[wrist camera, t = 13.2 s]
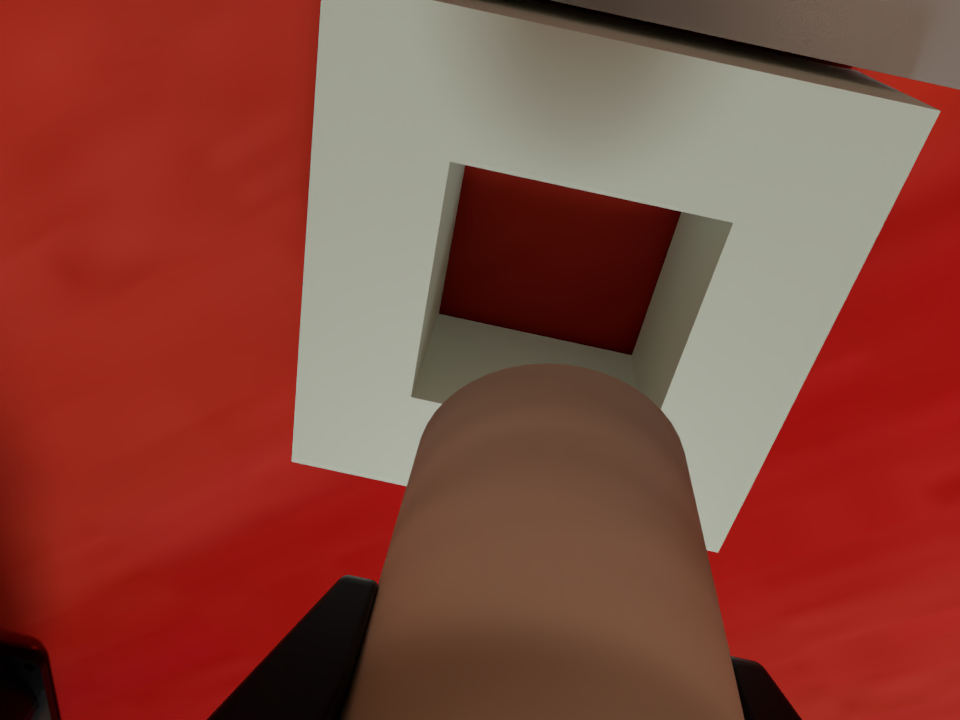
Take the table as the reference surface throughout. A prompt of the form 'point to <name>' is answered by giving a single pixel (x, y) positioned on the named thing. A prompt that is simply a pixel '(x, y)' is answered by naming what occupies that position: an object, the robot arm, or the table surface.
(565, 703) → the dowel
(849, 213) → the block
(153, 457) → the table surface
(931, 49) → the bar
